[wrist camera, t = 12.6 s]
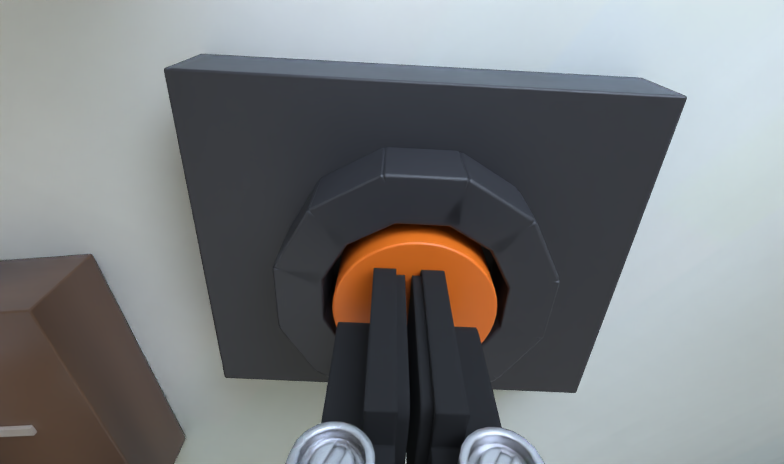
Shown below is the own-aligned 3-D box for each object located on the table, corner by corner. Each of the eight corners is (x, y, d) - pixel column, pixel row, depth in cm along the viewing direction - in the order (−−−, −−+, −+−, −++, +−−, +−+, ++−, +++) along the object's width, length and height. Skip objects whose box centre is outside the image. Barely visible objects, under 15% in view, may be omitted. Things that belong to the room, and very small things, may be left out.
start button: (496, 211, 11) (511, 247, 10) (474, 329, 13) (484, 374, 12) (339, 203, 11) (329, 238, 10) (340, 323, 13) (333, 368, 12)
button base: (643, 77, 12) (742, 118, 9) (556, 347, 17) (596, 441, 14) (200, 53, 12) (118, 84, 8) (243, 332, 17) (204, 425, 13)
